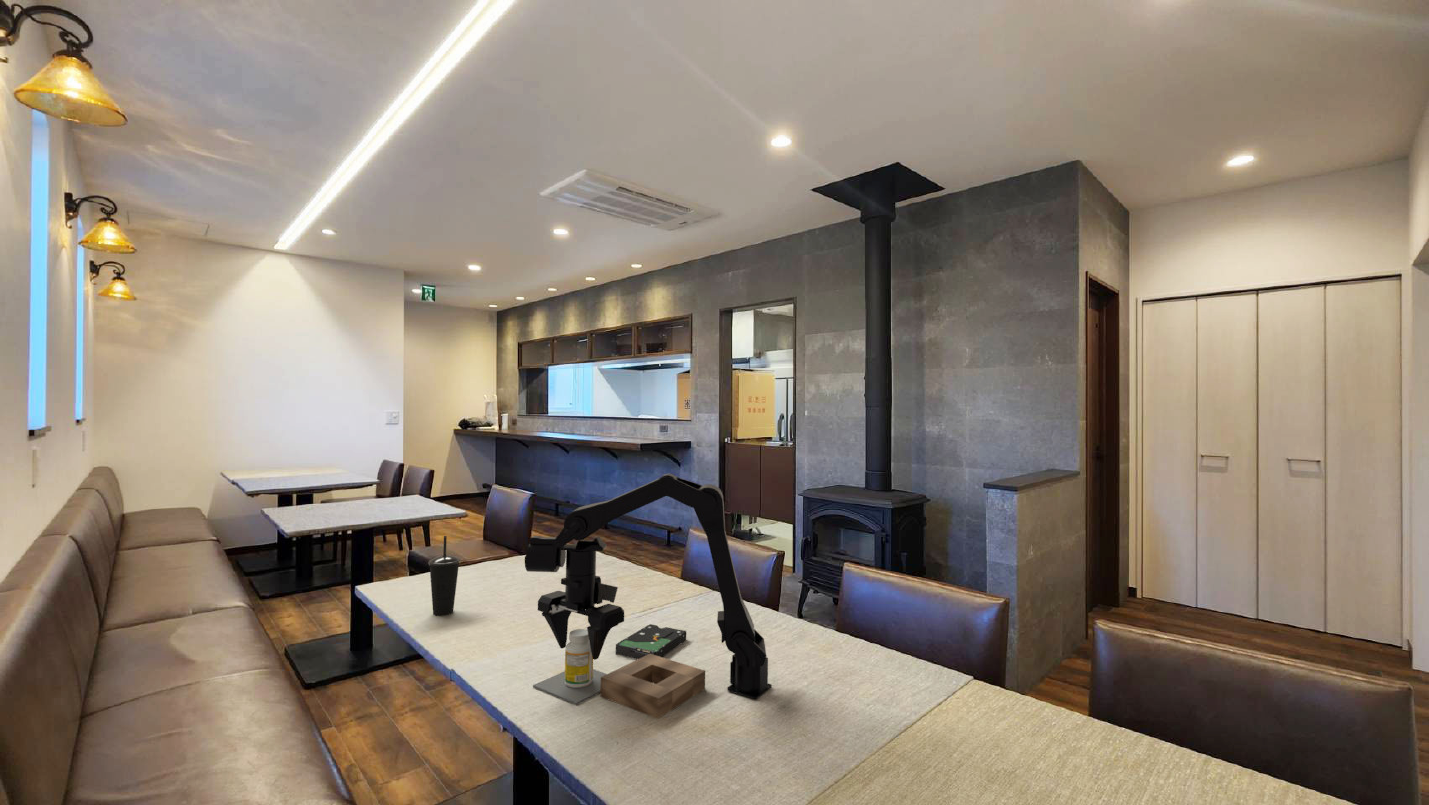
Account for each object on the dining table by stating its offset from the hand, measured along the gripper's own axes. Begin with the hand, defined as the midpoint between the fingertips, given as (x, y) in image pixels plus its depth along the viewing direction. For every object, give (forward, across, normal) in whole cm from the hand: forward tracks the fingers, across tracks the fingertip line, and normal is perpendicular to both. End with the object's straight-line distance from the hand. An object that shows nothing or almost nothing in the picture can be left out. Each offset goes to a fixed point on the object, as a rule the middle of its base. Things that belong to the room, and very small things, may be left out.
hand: (579, 653), depth 115 cm
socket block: (+6, -14, -6) cm, 16 cm away
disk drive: (+7, +1, -23) cm, 24 cm away
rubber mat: (+6, 0, 0) cm, 6 cm away
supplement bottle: (+6, 0, 0) cm, 6 cm away
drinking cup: (+6, +60, -8) cm, 61 cm away
